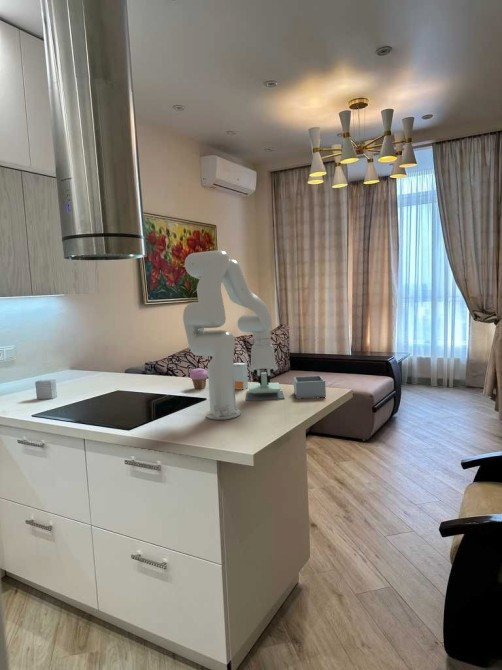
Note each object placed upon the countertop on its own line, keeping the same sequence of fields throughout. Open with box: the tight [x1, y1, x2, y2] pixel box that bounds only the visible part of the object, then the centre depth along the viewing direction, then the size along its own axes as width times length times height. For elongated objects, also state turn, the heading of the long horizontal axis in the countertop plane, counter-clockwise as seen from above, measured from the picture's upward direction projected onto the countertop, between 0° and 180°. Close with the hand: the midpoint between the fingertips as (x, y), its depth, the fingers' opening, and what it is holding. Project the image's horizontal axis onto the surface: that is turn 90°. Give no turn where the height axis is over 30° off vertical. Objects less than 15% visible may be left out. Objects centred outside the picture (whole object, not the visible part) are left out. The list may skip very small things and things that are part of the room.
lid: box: [248, 371, 281, 394], centre depth 190 cm, size 13×13×7 cm
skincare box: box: [233, 362, 249, 390], centre depth 207 cm, size 6×4×12 cm
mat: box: [245, 390, 285, 402], centre depth 191 cm, size 16×16×1 cm
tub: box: [293, 375, 327, 400], centre depth 187 cm, size 12×12×7 cm
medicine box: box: [34, 378, 58, 400], centre depth 209 cm, size 8×4×9 cm, turn 84°
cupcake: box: [189, 367, 208, 390], centre depth 213 cm, size 9×9×10 cm
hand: (264, 384), depth 190 cm, fingers closed on lid
